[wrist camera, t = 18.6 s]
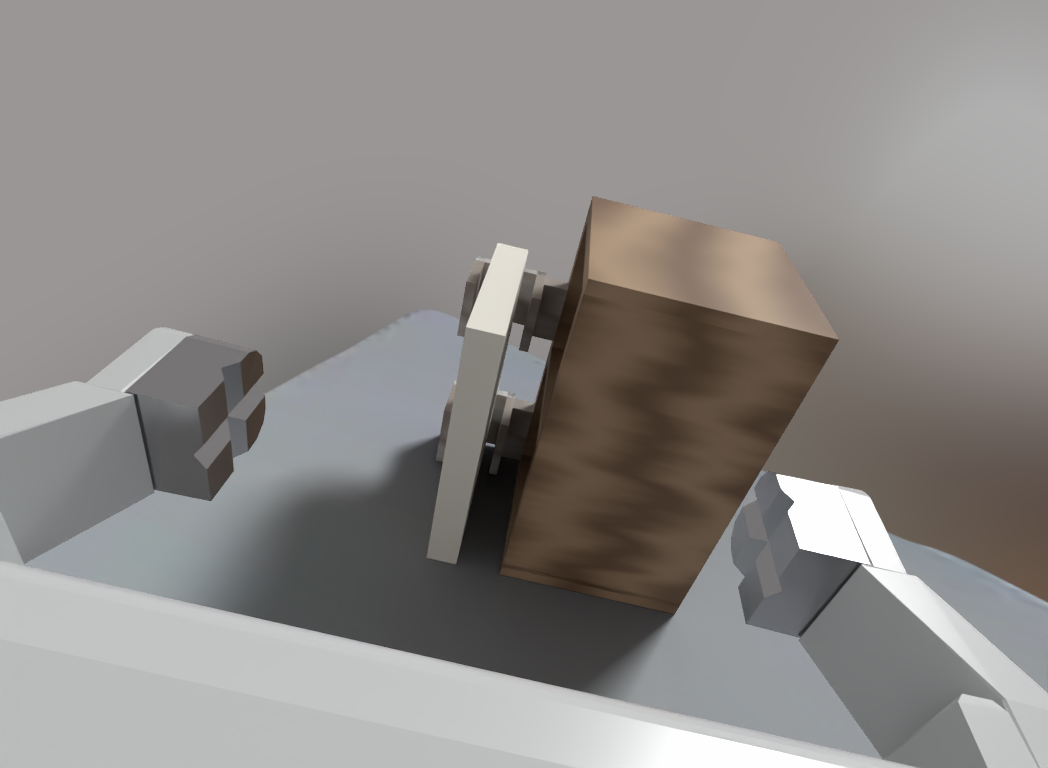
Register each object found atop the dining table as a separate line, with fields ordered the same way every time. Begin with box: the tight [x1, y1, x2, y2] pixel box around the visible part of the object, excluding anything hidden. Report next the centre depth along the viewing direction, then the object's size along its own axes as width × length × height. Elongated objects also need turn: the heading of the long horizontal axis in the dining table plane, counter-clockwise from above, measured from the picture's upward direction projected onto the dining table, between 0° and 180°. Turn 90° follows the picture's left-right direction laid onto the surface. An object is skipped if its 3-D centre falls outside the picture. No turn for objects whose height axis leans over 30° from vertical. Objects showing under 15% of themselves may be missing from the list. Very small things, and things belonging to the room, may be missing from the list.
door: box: [427, 243, 528, 564], centre depth 40 cm, size 2×11×18 cm, turn 173°
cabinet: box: [436, 196, 839, 614], centre depth 40 cm, size 18×13×22 cm
